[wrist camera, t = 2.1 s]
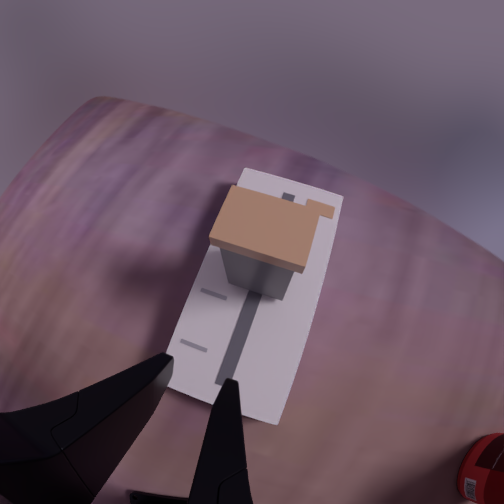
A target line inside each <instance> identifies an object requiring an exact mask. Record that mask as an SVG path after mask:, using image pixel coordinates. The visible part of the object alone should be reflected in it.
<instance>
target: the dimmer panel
mask: <svg viewBox="0 0 504 504" xmlns="http://www.w3.org/2000/svg"><path fill="white" fill-rule="evenodd" d="M237 186H239V187H242V188H246V189H250V190H253V191H257V192H260V193H264V194H267V195H271V196H274V197H278V198H281V199H284V200H288V201H291V202H294V203H298V204H301V205H304V206H308V207H311V208H314V209H317V210H320V211H321V212H320V216H319V220H318V224H317V227H316V231H315V235H314V238H313V242H312V246H311V249H310V253H309V256H308V260H307V263H306V267H305V269H304V271H303V273H302V274H300V273H297V272H294V273H293V276H292V278H291V281H290V283H289V286H288V288H287V291H286V293H285V296H284V298H283V300H282V301H281V300H278V299H275V298H272V297H269V296H265V295H262V294H259V293H256V292H253V291H250V290H247V289H244V288H241V287H238V286H235V285H232V284H229V283H228V280H227V276H226V272H225V268H224V264H223V260H222V256H221V251H220V248H219V247H216V246H212V245H211V244H210V246H209V248H208V251H207V253H206V255H205V258H204V260H203V263H202V265H201V267H200V270H199V272H198V274H197V277H196V279H195V282H194V284H193V286H192V289H191V291H190V294H189V296H188V299H187V301H186V303H185V306H184V308H183V311H182V313H181V316H180V318H179V321H178V323H177V326H176V328H175V331H174V334H173V336H172V339H171V341H170V344H169V346H168V349H167V352H166V354H169V355H171V356H173V357H174V366H173V375H172V377H171V380H170V382H169V384H168V387H170V388H173V389H175V390H177V391H180V392H182V393H184V394H187V395H189V396H192V397H194V398H197V399H199V400H202V401H205V402H207V403H210V404H212V405H213V404H214V401H215V399H216V397H217V395H218V393H219V391H220V389H221V387H222V385H223V383H224V381H225V379H226V378H231V379H234V380H236V381H238V383H239V391H240V402H241V413H242V415H244V416H247V417H250V418H254V419H257V420H260V421H263V422H267V423H270V424H274V425H278V423H279V420H280V417H281V414H282V412H283V409H284V406H285V403H286V401H287V398H288V395H289V392H290V389H291V386H292V383H293V380H294V377H295V374H296V371H297V368H298V365H299V362H300V359H301V356H302V353H303V350H304V347H305V343H306V340H307V337H308V334H309V330H310V327H311V323H312V320H313V317H314V313H315V310H316V306H317V303H318V299H319V295H320V292H321V288H322V284H323V281H324V277H325V273H326V269H327V265H328V261H329V257H330V253H331V249H332V245H333V241H334V237H335V232H336V228H337V223H338V219H339V215H340V210H341V205H342V201H343V196H341V195H338V194H335V193H331V192H328V191H325V190H322V189H319V188H316V187H312V186H309V185H306V184H302V183H299V182H296V181H292V180H289V179H285V178H282V177H278V176H275V175H271V174H268V173H264V172H260V171H256V170H253V169H249V168H244V170H243V173H242V175H241V177H240V179H239V181H238V183H237Z"/></svg>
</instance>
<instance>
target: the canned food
mask: <svg viewBox="0 0 504 504" xmlns="http://www.w3.org/2000/svg"><path fill="white" fill-rule="evenodd" d="M457 486H458V490H459V492H460V493H461V495H462V496H463V497H464V498H466V499H467V500H470V501H472V502H475V503H477V504H504V433H494V434H490V435H487V436H485V437H483V438H481V439H480V440H479V441H478V442H476V443H475V444H474V445H473V447H472V448H471V449H470V450H469V452H468V453H467V455H466V456H465V458H464V460H463V462H462V464H461V467H460V470H459V473H458V479H457Z"/></svg>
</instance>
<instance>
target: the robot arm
mask: <svg viewBox="0 0 504 504" xmlns="http://www.w3.org/2000/svg"><path fill="white" fill-rule="evenodd" d="M173 366H174V357H173V356H171V355H169V354H166V353H164V352H162V353H160V354H157V355H155V356H153V357H151V358H149V359H147V360H145V361H143V362H141V363H139V364H137V365H134V366H132V367H130V368H128V369H126V370H124V371H122V372H120V373H117V374H115V375H113V376H111V377H109V378H106V379H104V380H102V381H100V382H98V383H95V384H93V385H91V386H89V387H86V388H84V389H82V390H80V391H79V392H78V391H77V392H75V393H72V394H70V395H67V396H65V397H62V398H60V399H57V400H54V401H51V402H48V403H44V404H41V405H37V406H34V407H30V408H26V409H22V410H18V411H13V412H6V413H0V504H91V503H92V501H93V500H94V497H96V495H97V494H98V492H99V491H100V490H101V488H102V487H103V485H104V484H105V483H106V481H107V480H108V478H109V477H110V475H111V474H112V473H113V471H114V470H115V468H116V467H117V465H118V464H119V462H120V461H121V460H122V458H123V457H124V455H125V454H126V452H127V451H128V450H129V448H130V447H131V445H132V444H133V442H134V441H135V439H136V438H137V437H138V435H139V434H140V432H141V431H142V429H143V428H144V426H145V425H146V424H147V422H148V421H149V419H150V418H151V416H152V415H153V413H154V411H155V409H156V407H157V405H158V403H159V401H160V399H161V397H162V396H163V394H164V392H165V390H166V388H167V386H168V384H169V382H170V380H171V377H172V375H173ZM246 468H247V463H246V453H245V444H244V434H243V424H242V413H241V402H240V391H239V383H238V381H236V380H234V379H231V378H226V379H225V381H224V383H223V385H222V387H221V389H220V391H219V393H218V395H217V397H216V399H215V401H214V404H213V406H212V409H211V413H210V417H209V421H208V425H207V429H206V432H205V436H204V440H203V444H202V448H201V452H200V456H199V460H198V463H197V467H196V471H195V475H194V479H193V483H192V487H191V491H190V494H189V498H188V499H185V498H176V497H167V496H160V495H154V494H147V493H142V492H136V491H134V492H132V493H131V494H130V502H131V504H253V501H252V497H251V492H250V486H249V480H248V471H247V469H246ZM134 495H135V496H137V497H138V498H135V497H134Z"/></svg>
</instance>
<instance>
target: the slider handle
mask: <svg viewBox="0 0 504 504" xmlns="http://www.w3.org/2000/svg"><path fill="white" fill-rule="evenodd" d="M320 212H321V211H320V210H317V209H314V208H311V207H308V206H304V205H301V204H298V203H294V202H291V201H288V200H284V199H281V198H278V197H274V196H271V195H267V194H264V193H260V192H257V191H253V190H250V189H246V188H242V187H239V186H235V185H232V186H231V188H230V190H229V193H228V195H227V197H226V199H225V201H224V203H223V206H222V208H221V210H220V212H219V214H218V217H217V219H216V221H215V223H214V225H213V228H212V230H211V232H210V234H209V240H210V243H211V245H212V246H216V247H219V248H220V251H221V256H222V260H223V264H224V268H225V272H226V276H227V280H228V283H229V284H232V285H235V286H238V287H241V288H244V289H247V290H250V291H253V292H256V293H259V294H262V295H265V296H269V297H272V298H275V299H278V300H281V301H282V300H283V298H284V296H285V293H286V291H287V288H288V286H289V283H290V281H291V278H292V276H293V273H294V272H297V273H300V274H302V273H303V271H304V269H305V267H306V263H307V260H308V256H309V253H310V249H311V246H312V242H313V238H314V235H315V231H316V227H317V224H318V220H319V216H320Z"/></svg>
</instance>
